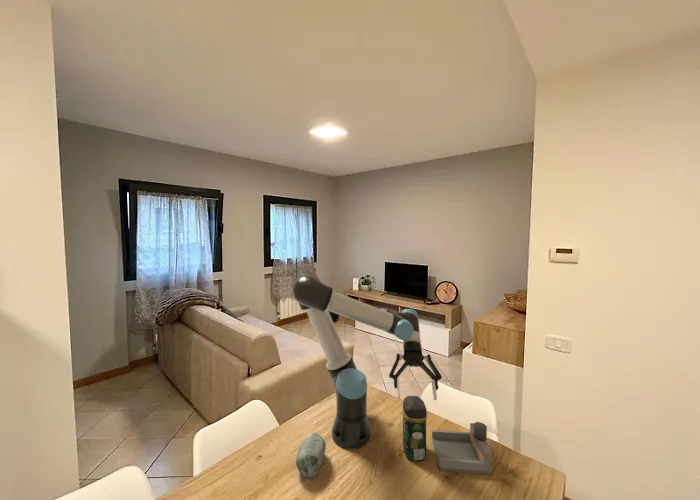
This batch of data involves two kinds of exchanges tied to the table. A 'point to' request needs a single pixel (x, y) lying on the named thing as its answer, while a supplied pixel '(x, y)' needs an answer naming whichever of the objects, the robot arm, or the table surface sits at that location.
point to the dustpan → (463, 450)
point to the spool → (310, 455)
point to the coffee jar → (414, 428)
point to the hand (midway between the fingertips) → (417, 398)
